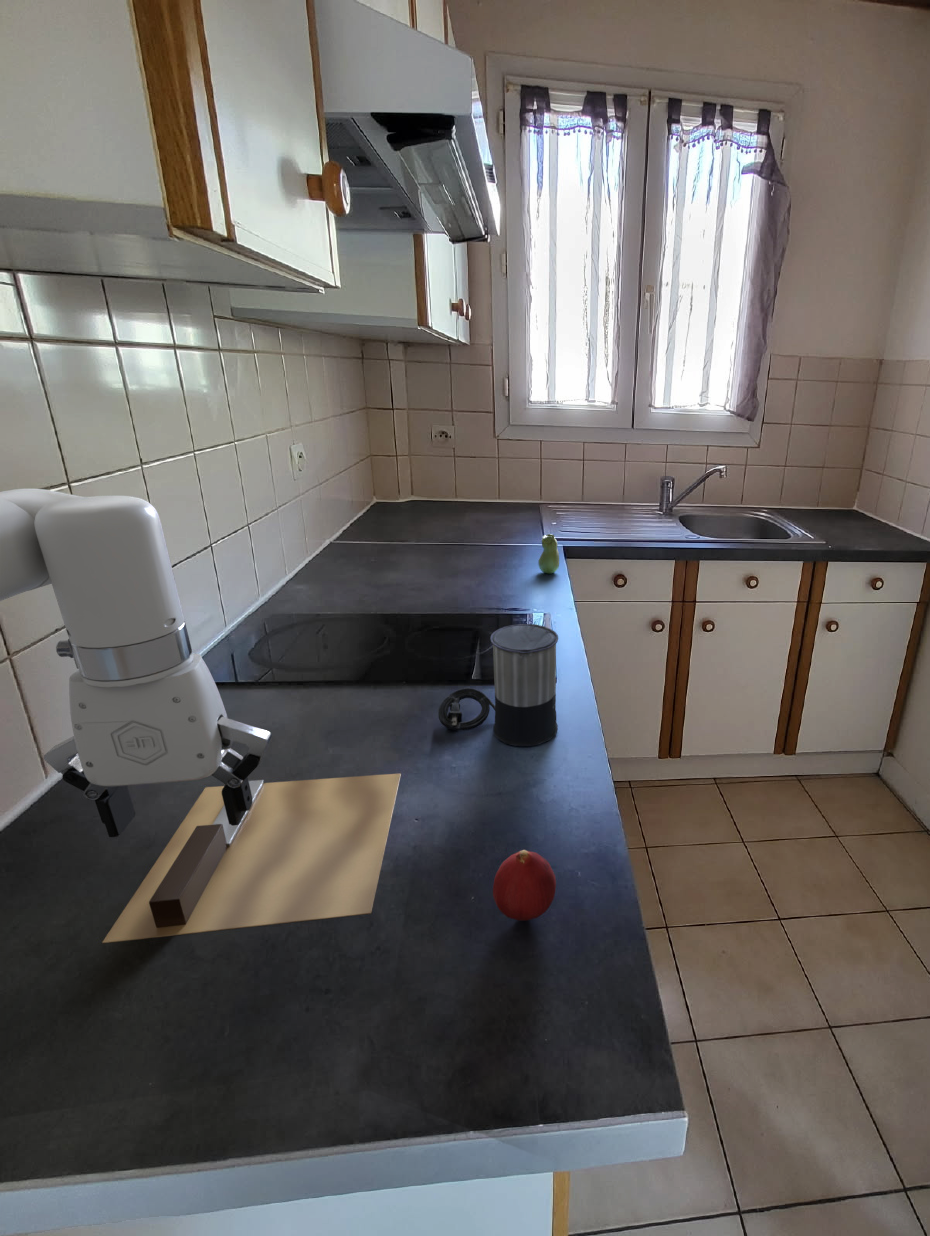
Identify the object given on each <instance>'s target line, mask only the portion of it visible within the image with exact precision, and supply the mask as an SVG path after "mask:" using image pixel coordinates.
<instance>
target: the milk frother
mask: <svg viewBox="0 0 930 1236" xmlns="http://www.w3.org/2000/svg"><path fill="white" fill-rule="evenodd" d="M489 639H490V642H491V644H492V654H493V655H492V656H493V658H492V659H493V679H494V682H493V683H494V703H493V702H492V700H491V699H490V698H489V697H488V696H487V695H486V694H485V693H483V692H482V691H480V690H478V689H476V688H471V687H466V688H460V689H457V690H455V691H454V692H452V693H450V694H449V695H448V696H446V698H444V700H443V701H442V702H441V703H440V705H439V708H438V720H439V721H440V723H441V725H442V726H444V727H445V728H447V729H449V730H454V731H469V730H473V729H476V728H478V727H480V726H481V725H482V724H484V723H485V721H486V720H487V719H488V717H489V714H490V709H491V708H490V707H492V709H493V710H494V724H493V728H492V729H493V730H492V731H493V735H494V736H495V737H496V739H498V741H500V742H502V743H504V744H506V745H508V746H509V745H510V746H515V747H534V746H538V745H541V744H544V743H546V742H548V741H550V740H552V739H553V738H554V737H555V736H556V734H557V733H558V730H559V729H558V728H559V727H558V726H559V725H558V723H557V710H556V702H557V693H556V691H557V690H556V689H557V643H558V642H559V635H558V633H557V632H556V631H555V630H553V629H552V628H549V627H547V626H545V625H539V624H536V623H529V624H528V623H518V624H511V625H505V626H503V627H500V628H498V629H497V630H495V631H494V632H492V634H491V635H490V637H489ZM465 699H471V700H474V701H476V702H477V703H478V704H480V707H481V711H480V713H479V714H478V715H477V716H476V717H473V719H471V720H467V721H463V720H462V719H463V712H462V711H461V704H460V701H462V700H465ZM449 710H450V711H449Z"/></svg>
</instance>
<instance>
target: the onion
mask: <svg viewBox="0 0 930 1236" xmlns="http://www.w3.org/2000/svg"><path fill="white" fill-rule="evenodd" d="M492 885H493V886H492V896H493V900H494V903H495V905H496V907H497V909H498V910H499V911H500V912H501V914H503V915H504V916H505V917H507V918H509V919H512V920H515V921H530V920H534V919H537V918H540V916H542V915H543V914H545V913H546V912H547V911H548V909H549V908H550V906H551V905H552V903H553V901H554V900H555V895H556V888H557V879H556V875H555V872H554V870H553V868H552V866H551V863H550V862H549V861H548V860H547V859H546V858H545V857H543V856H542V855H540V854H539V853H538V852H535V851H531V850H526V849H521V850H519V851H517V852H515V853H513V854H511V855H510V856H508V857H507V858H505V860H503V862H502V863H501V864H500V866H499V868H498V870H497V871H496V873H495V876H494V879H493V884H492Z"/></svg>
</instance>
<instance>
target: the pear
mask: <svg viewBox="0 0 930 1236" xmlns="http://www.w3.org/2000/svg"><path fill="white" fill-rule="evenodd" d="M558 544H559V543H558V541H557V539H556V537H555V534H552V533H548V534H544V535H542V539H541V547H542V550H543V551H541V552H542V553H541V555H540V557H539V558H538V562H537V565H538V568H539V570H540V571H541V572H542V573H545V574H554V573H555V572H556V571H557V572H558V569H559V567H560V552H559V550H558Z"/></svg>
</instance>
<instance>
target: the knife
mask: <svg viewBox="0 0 930 1236" xmlns="http://www.w3.org/2000/svg"><path fill="white" fill-rule="evenodd" d="M248 781H249V785H250V790H251V794H252V804H253V802H254V801H255V799H256V797H257V795H258V793H259V791H260V789H261V788H262V786H263V784H264V783H265V780H264V779H256V780H248ZM248 812H249V810H248V811H246V813H245V815H244V816H243V818H242V820H241V822H240V824H239V825H235V826H232V825H231V824H229V822H228V818H227V814H226V809H225V805H224V806H223V808H222V810H221V811H220V813H219V815H218V816H217V818H216V820H215V821H214V823H213V825H202V826H196V828H195V830H194V831H193V833H192V834H191V836H190V838H189V839H188V841H187V842H186V844H185V846H184V847H183V849H182V850H181V852H180V853H179V855H178V857H177V858H176V860H175V861H174V863H173V865H172V866H171V868H170V869H169V871H168V872H167V874H166V876H165V877H164V879H163V880H162V882H161V884H160V885H159V887H158V888H157V890H156V891H155V893H154V895H153V896H152V898H151V899H150V901H149V905H150V908H151V912H152V915H153V918H154V922H155V925H156V928H160V927H169V926H178V925H186V924H187V922H188V920H189V918H190V916H191V914H192V912H193V911H194V909H195V907H196V905H197V903H198V901H199V899H200V898H201V896H202V894H203V892H204V890H205V888H206V886H207V885H208V883H209V881H210V879H211V877H212V875H213V873H214V872H215V870H216V868H217V866H218V864H219V862H220V861H221V859H222V857H223V855H224V853H225V851H226V849H227V848H228V846H230V845H231V844H232V842H233V840H234V838H235V836H236V834H237V832H238V830H239V829H240V827H241V825H242V823H243V821H244V819H245V817H246V816H247V814H248Z"/></svg>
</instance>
